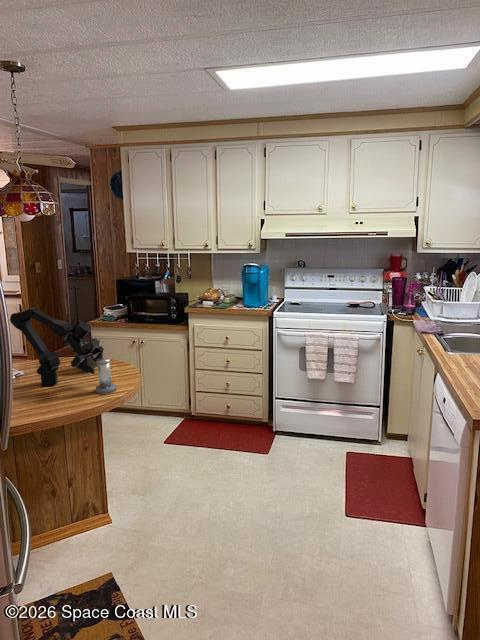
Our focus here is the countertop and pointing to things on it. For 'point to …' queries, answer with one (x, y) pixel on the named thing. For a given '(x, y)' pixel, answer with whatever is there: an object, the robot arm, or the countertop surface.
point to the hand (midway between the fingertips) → (99, 370)
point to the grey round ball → (90, 360)
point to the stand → (106, 390)
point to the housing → (104, 372)
